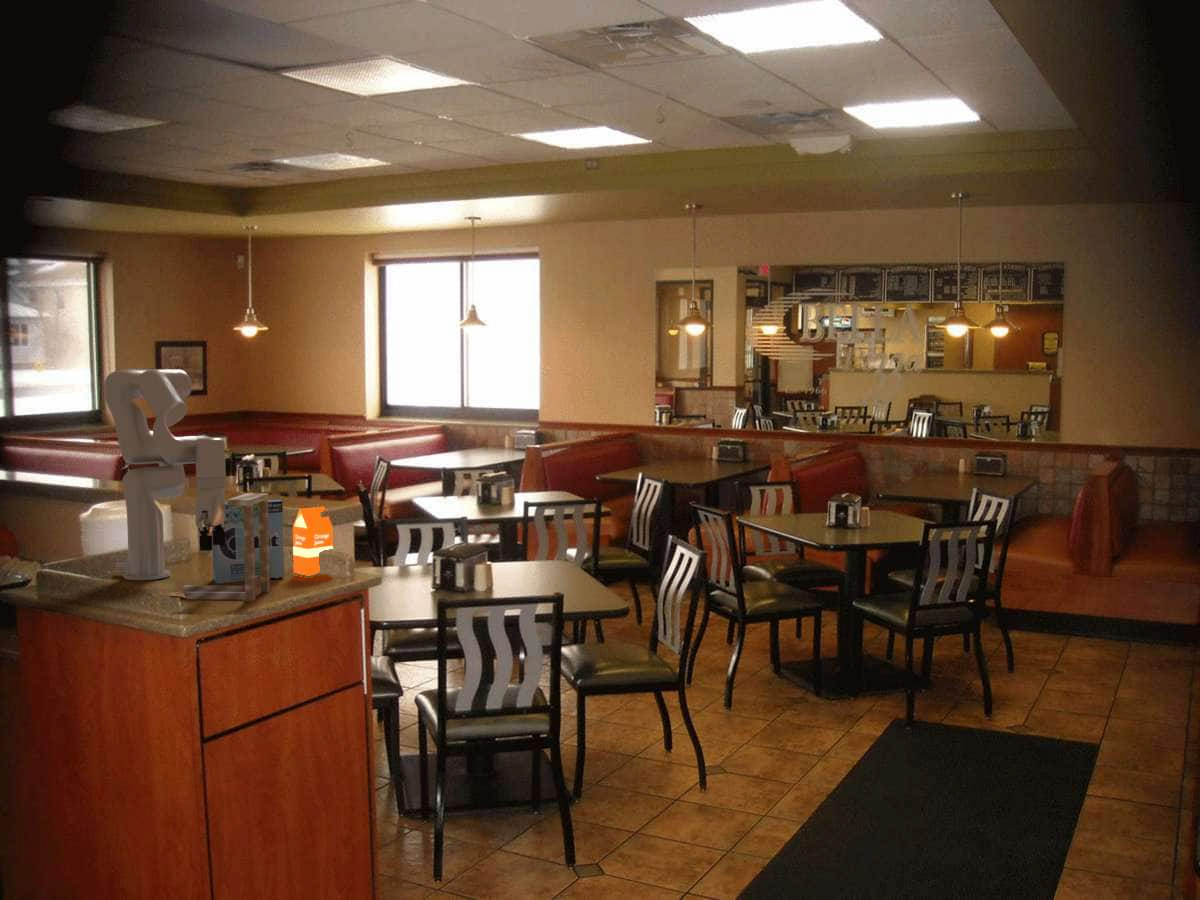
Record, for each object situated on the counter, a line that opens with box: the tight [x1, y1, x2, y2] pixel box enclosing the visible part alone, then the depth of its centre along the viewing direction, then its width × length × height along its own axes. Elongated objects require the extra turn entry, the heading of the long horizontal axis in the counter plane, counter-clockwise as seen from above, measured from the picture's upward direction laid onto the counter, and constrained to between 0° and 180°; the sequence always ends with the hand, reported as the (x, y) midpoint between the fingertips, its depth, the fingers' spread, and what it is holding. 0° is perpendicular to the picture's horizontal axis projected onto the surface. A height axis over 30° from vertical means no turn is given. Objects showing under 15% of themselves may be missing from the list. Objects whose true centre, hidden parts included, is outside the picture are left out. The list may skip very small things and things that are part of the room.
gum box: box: [211, 498, 286, 584], centre depth 323 cm, size 20×5×23 cm, turn 119°
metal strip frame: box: [181, 492, 271, 602], centre depth 300 cm, size 23×15×27 cm, turn 88°
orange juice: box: [292, 506, 334, 576], centre depth 332 cm, size 8×9×20 cm
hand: (212, 547), depth 300 cm, fingers open, 8 cm apart
